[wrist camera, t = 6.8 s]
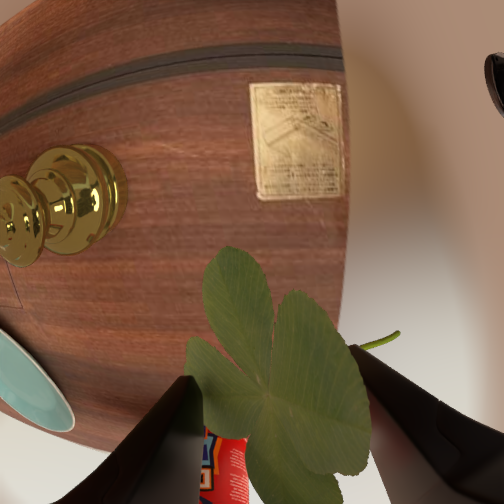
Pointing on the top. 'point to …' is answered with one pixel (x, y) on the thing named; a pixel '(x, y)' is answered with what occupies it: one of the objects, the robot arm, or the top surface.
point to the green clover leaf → (280, 385)
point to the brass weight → (61, 203)
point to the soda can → (223, 471)
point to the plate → (31, 388)
